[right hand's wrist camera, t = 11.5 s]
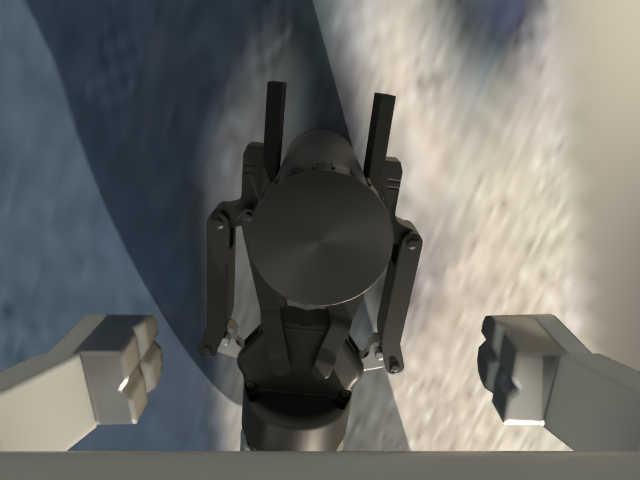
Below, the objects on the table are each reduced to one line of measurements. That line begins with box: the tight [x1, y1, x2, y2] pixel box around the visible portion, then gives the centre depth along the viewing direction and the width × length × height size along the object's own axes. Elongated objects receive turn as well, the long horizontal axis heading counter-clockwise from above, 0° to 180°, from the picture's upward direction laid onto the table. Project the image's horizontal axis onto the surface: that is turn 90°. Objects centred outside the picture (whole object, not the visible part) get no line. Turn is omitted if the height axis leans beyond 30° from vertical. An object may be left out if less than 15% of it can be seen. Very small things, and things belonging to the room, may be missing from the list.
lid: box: [248, 161, 394, 306], centre depth 17 cm, size 6×6×2 cm
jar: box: [277, 129, 366, 179], centre depth 24 cm, size 5×5×15 cm
